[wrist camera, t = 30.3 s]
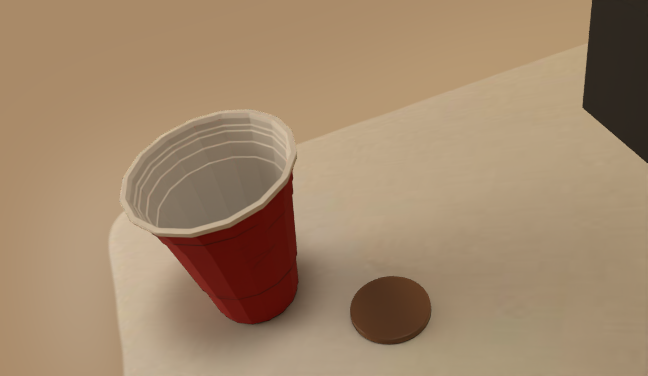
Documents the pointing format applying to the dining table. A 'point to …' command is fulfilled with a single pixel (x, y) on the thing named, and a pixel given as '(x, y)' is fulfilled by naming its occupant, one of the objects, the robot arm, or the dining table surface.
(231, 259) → the plastic cup
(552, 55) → the dining table surface
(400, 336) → the brown round coaster
